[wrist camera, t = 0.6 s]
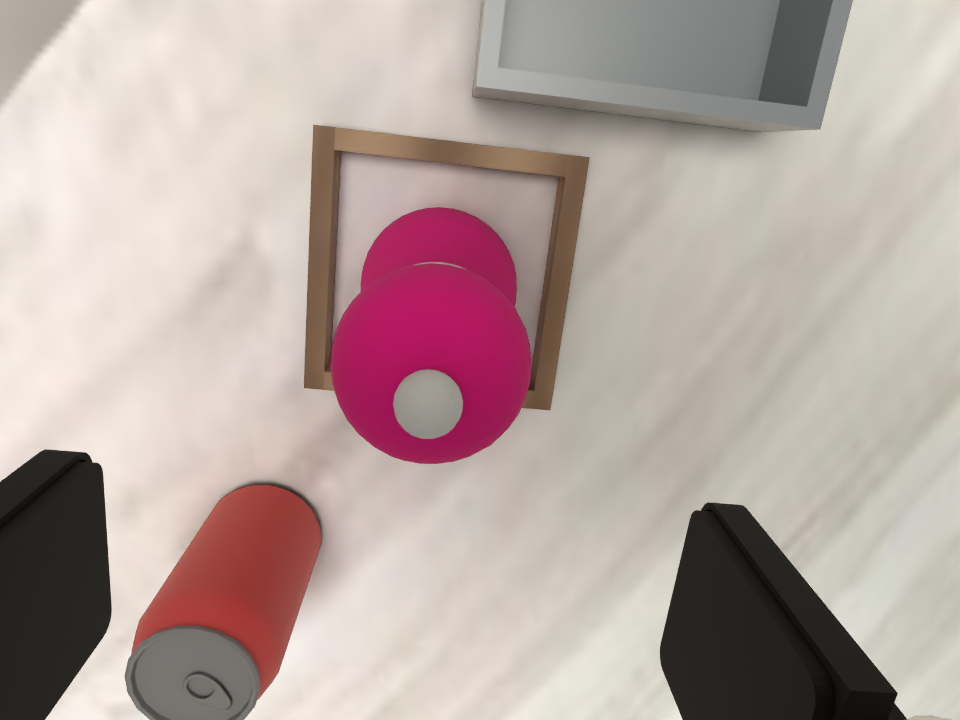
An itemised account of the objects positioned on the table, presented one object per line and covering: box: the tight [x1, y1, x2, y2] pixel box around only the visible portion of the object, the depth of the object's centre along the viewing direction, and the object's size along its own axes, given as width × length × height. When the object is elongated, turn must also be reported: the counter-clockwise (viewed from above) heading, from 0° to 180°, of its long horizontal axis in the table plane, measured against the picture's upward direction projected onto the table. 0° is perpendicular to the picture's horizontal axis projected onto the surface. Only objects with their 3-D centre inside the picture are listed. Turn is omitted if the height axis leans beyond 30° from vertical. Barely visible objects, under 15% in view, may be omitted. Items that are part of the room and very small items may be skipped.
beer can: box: [125, 485, 321, 720], centre depth 34 cm, size 7×7×12 cm
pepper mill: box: [331, 208, 531, 464], centre depth 26 cm, size 7×7×20 cm
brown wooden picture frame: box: [304, 125, 589, 410], centre depth 34 cm, size 13×13×2 cm
